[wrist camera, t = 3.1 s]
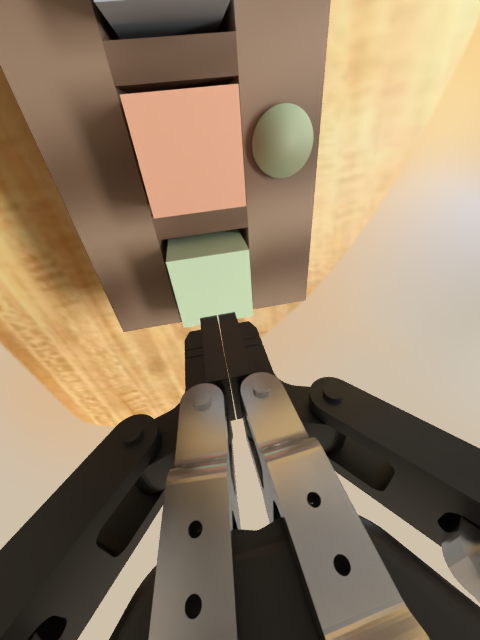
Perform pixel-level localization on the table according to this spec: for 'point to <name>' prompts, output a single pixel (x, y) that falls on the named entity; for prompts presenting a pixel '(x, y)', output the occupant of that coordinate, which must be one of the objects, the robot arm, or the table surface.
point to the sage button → (210, 275)
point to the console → (119, 153)
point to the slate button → (162, 17)
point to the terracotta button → (188, 148)
